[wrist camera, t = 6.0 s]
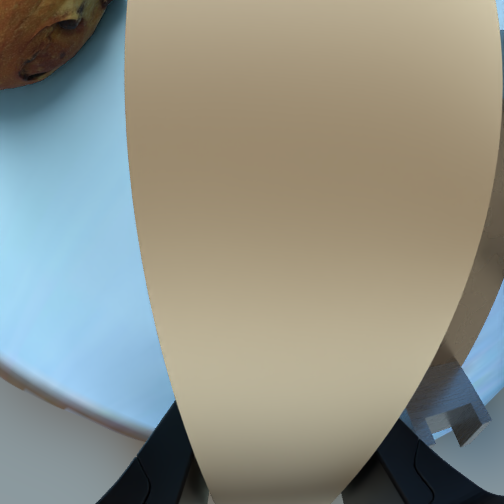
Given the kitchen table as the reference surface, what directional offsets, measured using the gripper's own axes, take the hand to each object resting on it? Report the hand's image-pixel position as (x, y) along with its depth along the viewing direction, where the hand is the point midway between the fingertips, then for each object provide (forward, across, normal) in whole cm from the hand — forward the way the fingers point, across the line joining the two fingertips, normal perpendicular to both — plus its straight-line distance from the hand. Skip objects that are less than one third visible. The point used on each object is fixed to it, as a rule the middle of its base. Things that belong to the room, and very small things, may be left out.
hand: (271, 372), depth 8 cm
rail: (0, 0, 0) cm, 1 cm away
